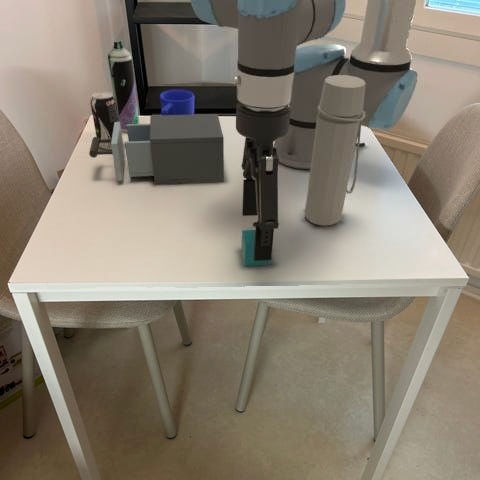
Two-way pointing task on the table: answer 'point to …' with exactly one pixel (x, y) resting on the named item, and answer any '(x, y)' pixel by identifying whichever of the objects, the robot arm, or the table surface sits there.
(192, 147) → the grey drawer cabinet
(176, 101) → the mug
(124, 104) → the spray can
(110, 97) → the beverage can
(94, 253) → the table surface
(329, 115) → the water bottle
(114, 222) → the table surface
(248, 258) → the cube
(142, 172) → the drawer
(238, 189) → the table surface
